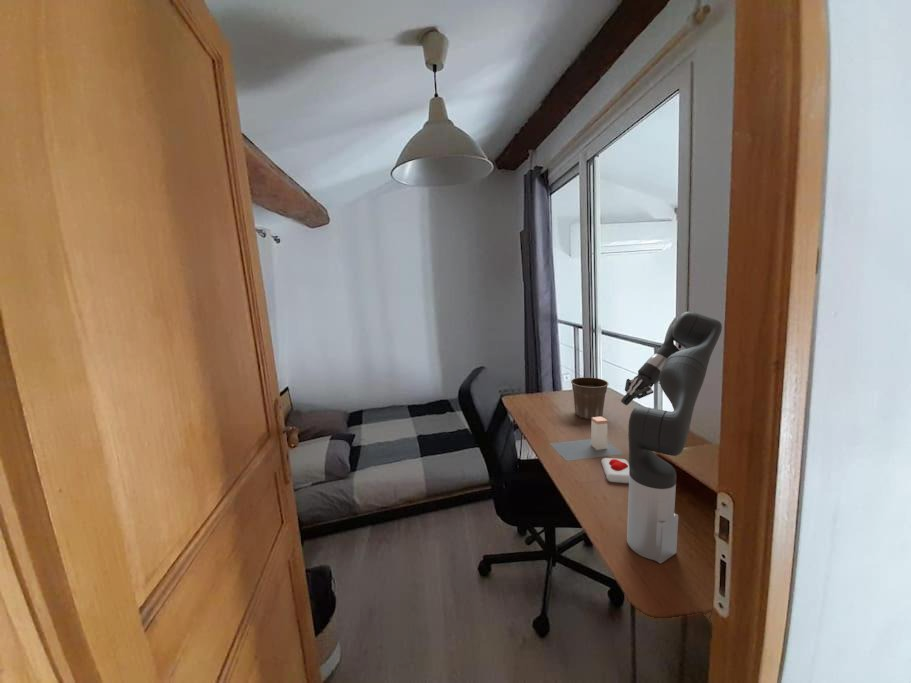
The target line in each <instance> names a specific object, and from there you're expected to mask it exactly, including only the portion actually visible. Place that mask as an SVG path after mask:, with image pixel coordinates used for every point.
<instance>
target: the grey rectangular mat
mask: <svg viewBox="0 0 911 683" xmlns="http://www.w3.org/2000/svg"><path fill="white" fill-rule="evenodd" d="M549 445H550V446H551V447H552V448H553V450H555V451H556V452H557V454H558V455H560V457H561V458H562V459H563V460H564V461H566V462H570V461H577V460H578V461H579V460H586V459H596V458H603V457H604V458H605V457H611V456H618V455H619V456H620V455H625V453H624V452H623V451H621V450H620V449H619V448H617V447H615V445H613V444H611V443H610V442H609V441H607V449H600V450H596V449H595V448H594V447H593V446H591V438H585V439H577V440H570V441H568V440H567V441H562V442H559V441H557V442H552V443H551V442H550V443H549Z"/></svg>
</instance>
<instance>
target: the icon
mask: <svg viewBox="0 0 911 683" xmlns="http://www.w3.org/2000/svg"><path fill="white" fill-rule="evenodd" d="M600 462H601V465H602V469H603V472H604V474H605V477H606V480H607V481H608V482H610V483H618V484H629V461H628V460H627V459H625V458H612V457H610V458H609V457H604V458H603V457H602V459H601V461H600Z"/></svg>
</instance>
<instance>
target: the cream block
mask: <svg viewBox="0 0 911 683" xmlns="http://www.w3.org/2000/svg"><path fill="white" fill-rule="evenodd" d="M590 420H591V427H590V428H591V429H590V432H591V433H590V435H591V436H590V439H591V446H593V447H594V448H595V449H596V450H600V449H607V442H608V422H609V421H608V419H606V418H605V417H603V416H601V417H592V418H591V419H590Z"/></svg>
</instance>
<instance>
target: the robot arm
mask: <svg viewBox="0 0 911 683" xmlns="http://www.w3.org/2000/svg"><path fill="white" fill-rule="evenodd" d="M722 325H723V324H722V323H721V321H719V320H718V319H715V318H713V317H710V316H707V315H704V314H701V313H697V312H695V311H684V312H683V313H681V315H680V316H679V317H678V318H677V320H676V322H675V323H674V324H672V326H671V327H670V328H669V330H668V333H667V335H666V338H665V340H664V342H663V343H662V345H661V346H660V347H659V348H658V349H657V350H656V351H655V353H654V354H652V355H651V356H650V357H649V358H648V359H647V360H646V361H645V363H644V364H643V365H642V366H641V367H640V368H639V369H638V371H637V375H635V376H634V378H632V379H630V378H628V379H626V381H625V386H624V391H625V392H626V394H625V395H624V396H623V398H621V400H620V402H621V403H622V404H623V405H624V406H628V405H629V404H630V403H631V402H632V401H634V399H638V400H640V399H642V398H644V397H648V396H650V395H651V394H654V390H653V389H652V388H653V386H654V385H657V384H658V383H659V385H660V388H661V391H662V392H663V393H664V395H665V396H666V398H667V399H668V400H669V402H670V404H671V406H672V408H673V409H672V411H670V410H669V411H668V410H663V409H658V408H653V407H647V406H641V405H639V406H636V407H634V408H633V409H632V411H631V412H630V415H629V417H628V418H629V420H628V425H627V426H628V429H627V432H628V437H627V438H628V464H629V483H628V494H627V495H628V496H627V497H628V498H627V499H628V500H627V520H626V521H627V523H626V524H627V528H626V529H627V530H626V542H627V545H628V546H629V547H630V549H631V550H632V551H633V552H634V553H636V554H637V555H639V556H640V557H642V558H645V559H647V560H651V561H655V562H657V563H659V564H663V563H664V562H666V561H667V560H668V559H670V558H671V557H673V556H674V555H675V554H677V547H678V546H677V545H678V529H679V515H678V514H677V513H675V506H676V504H675V502H676V487H677V471H676V469H675V467H673V465H672V464H670V463H669V462H667V461H666V460H664V458H661V457H659V456H658V455H657V454H656V453H658V454H661V455H667V456H672V457H675V456H678V455H680V454H682V453H683V450H684V449H685V446H686V444H687V440H688V436H689V432H690V426H691V422H692V417H693V413H694V409H695V405H696V402H697V399H698V397H699V394H700V391H701V389H702V386H703V384H704V381H705V377H706V374H707V370H708V366H709V363H710V359H711V356H712V354H713V352H714V349H715V347H716V345H717V343H718V341H719V339H720V335H722V334H721V333H722V330H723V329H722V328H723V326H722ZM675 343H677V344H678V345H680V346H681V347H683V348H684V349H681V350H680V348H678V347H677V346H676V345H675ZM654 452H655V453H654Z"/></svg>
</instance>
